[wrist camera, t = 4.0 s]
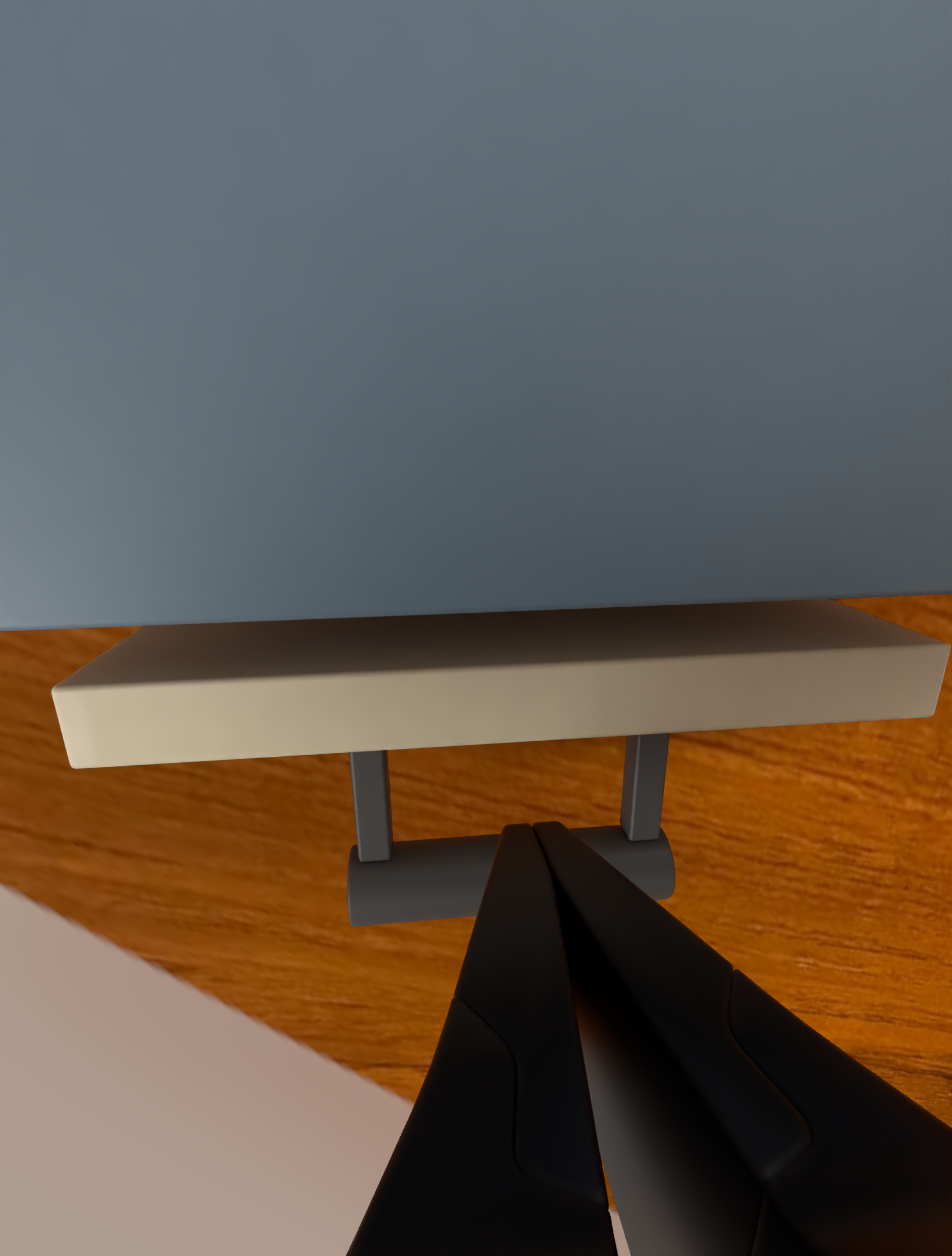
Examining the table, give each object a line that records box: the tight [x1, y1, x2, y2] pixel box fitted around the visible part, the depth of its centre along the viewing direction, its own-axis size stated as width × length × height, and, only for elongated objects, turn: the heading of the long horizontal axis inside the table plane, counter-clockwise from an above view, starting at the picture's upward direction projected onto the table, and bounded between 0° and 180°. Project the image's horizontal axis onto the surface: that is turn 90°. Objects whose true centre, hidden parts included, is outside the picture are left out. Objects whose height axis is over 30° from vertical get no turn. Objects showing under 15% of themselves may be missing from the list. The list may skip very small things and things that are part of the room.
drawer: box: [52, 599, 951, 926], centre depth 9 cm, size 19×12×4 cm, turn 1°
